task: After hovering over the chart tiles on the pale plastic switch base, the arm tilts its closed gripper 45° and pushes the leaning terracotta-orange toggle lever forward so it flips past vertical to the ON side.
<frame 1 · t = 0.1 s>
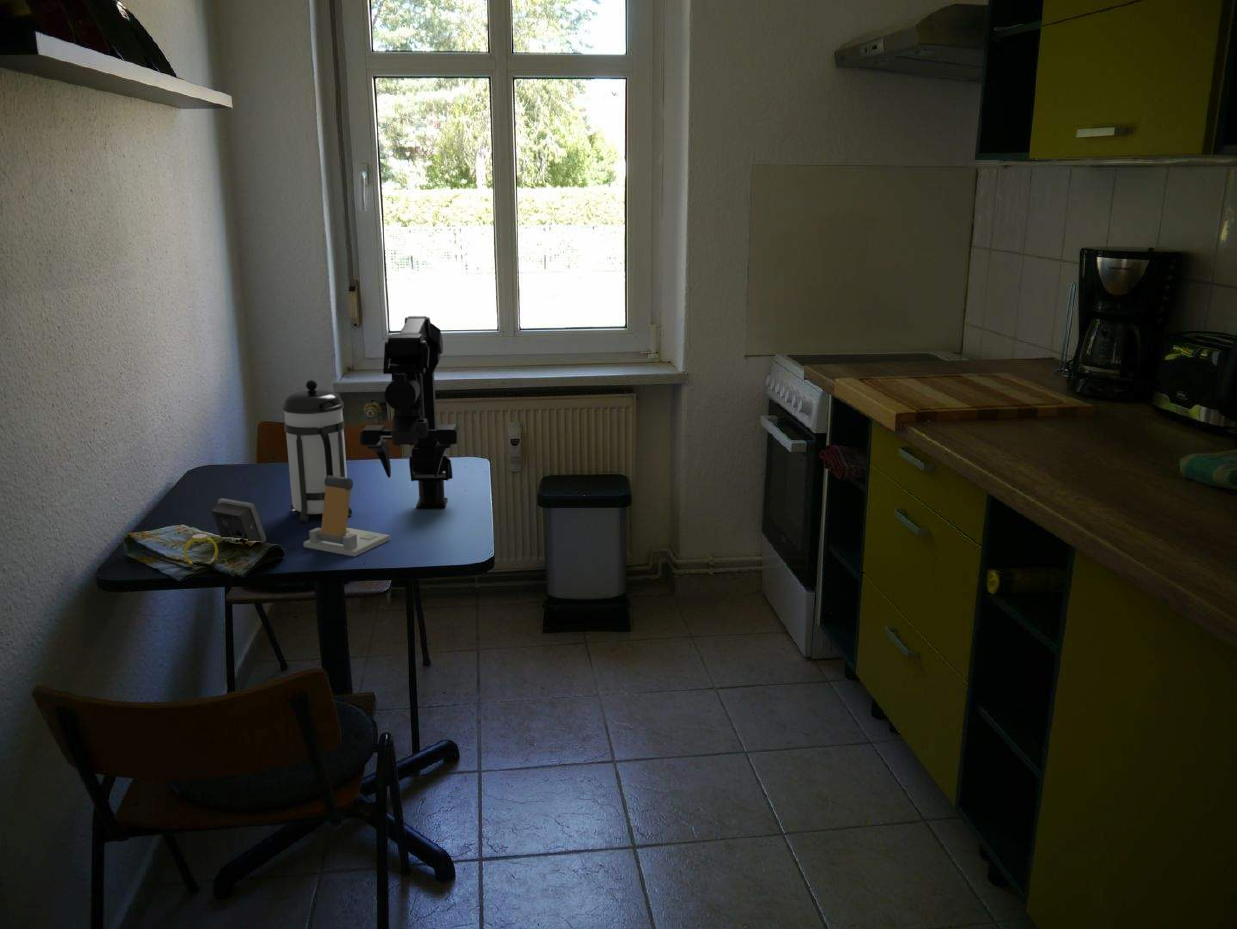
hand: (412, 476, 205), 15 cm above the table, tool pointing down, fingers open, 9 cm apart
lever: (335, 509, 206), point 8 cm above the table, hinge at -15.0°
electrical switch: (241, 544, 210), on the table
watch: (202, 565, 198), on the table
coffee press: (324, 515, 228), on the table
switch base: (347, 543, 210), on the table
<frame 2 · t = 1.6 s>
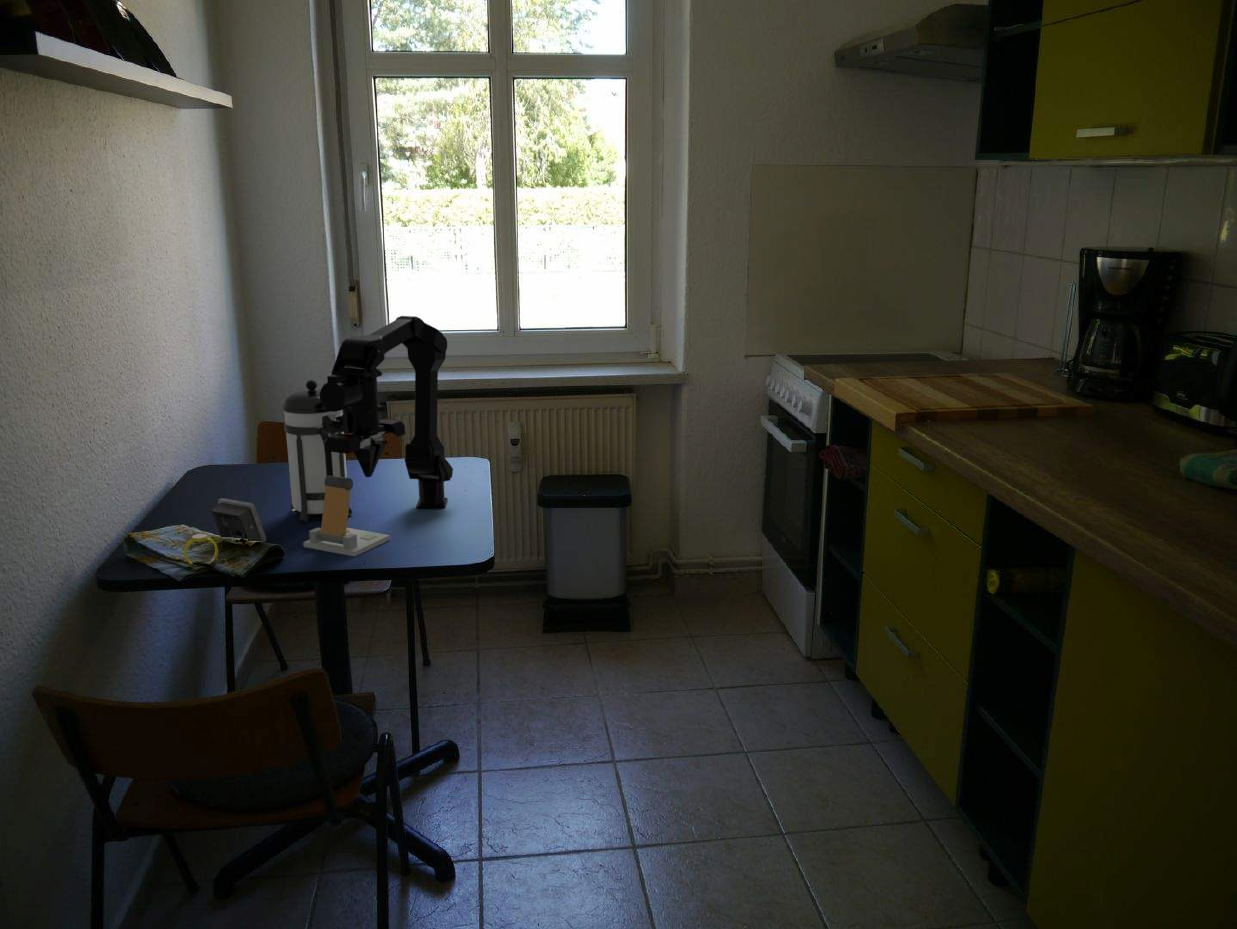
hand: (368, 476, 210), 13 cm above the table, tool pointing down, fingers closed
nothing on the table moved.
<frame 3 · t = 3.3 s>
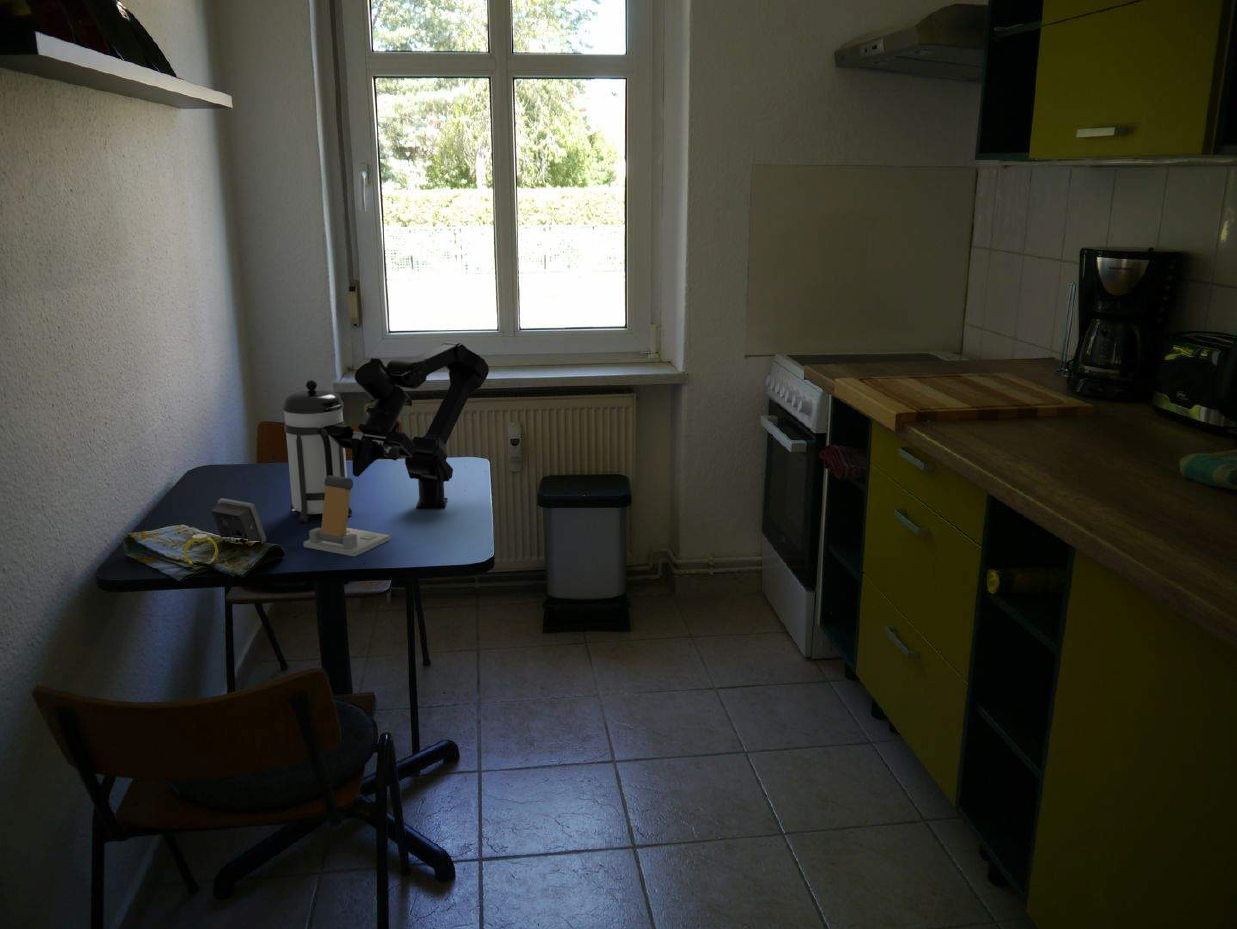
hand: (355, 475, 210), 13 cm above the table, tool tilted 45°, fingers closed
nothing on the table moved.
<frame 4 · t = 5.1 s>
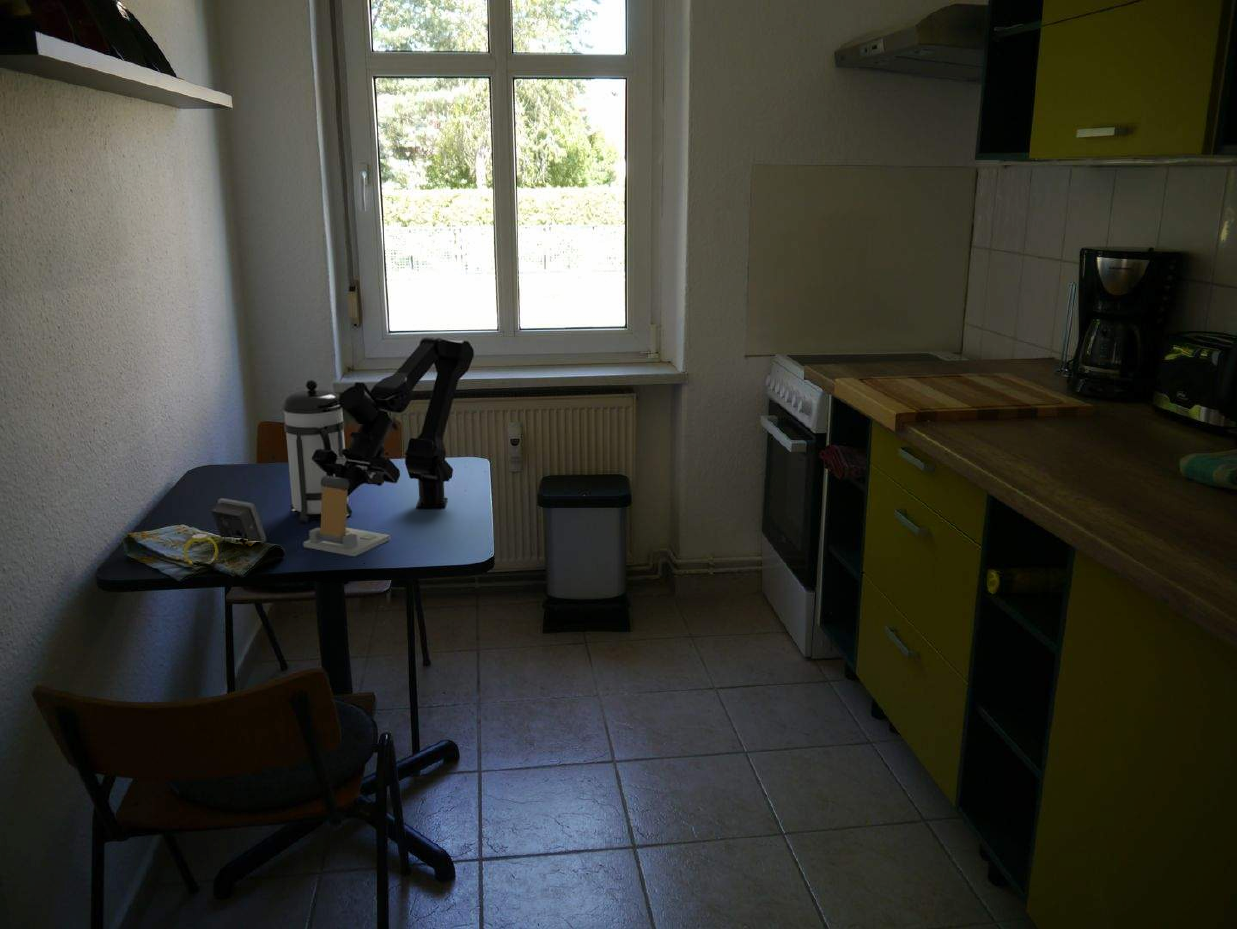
hand: (338, 501, 206), 9 cm above the table, tool tilted 45°, fingers closed, pressing on lever
lever: (334, 509, 205), point 8 cm above the table, hinge at -9.2°, touching gripper
everything else where it was.
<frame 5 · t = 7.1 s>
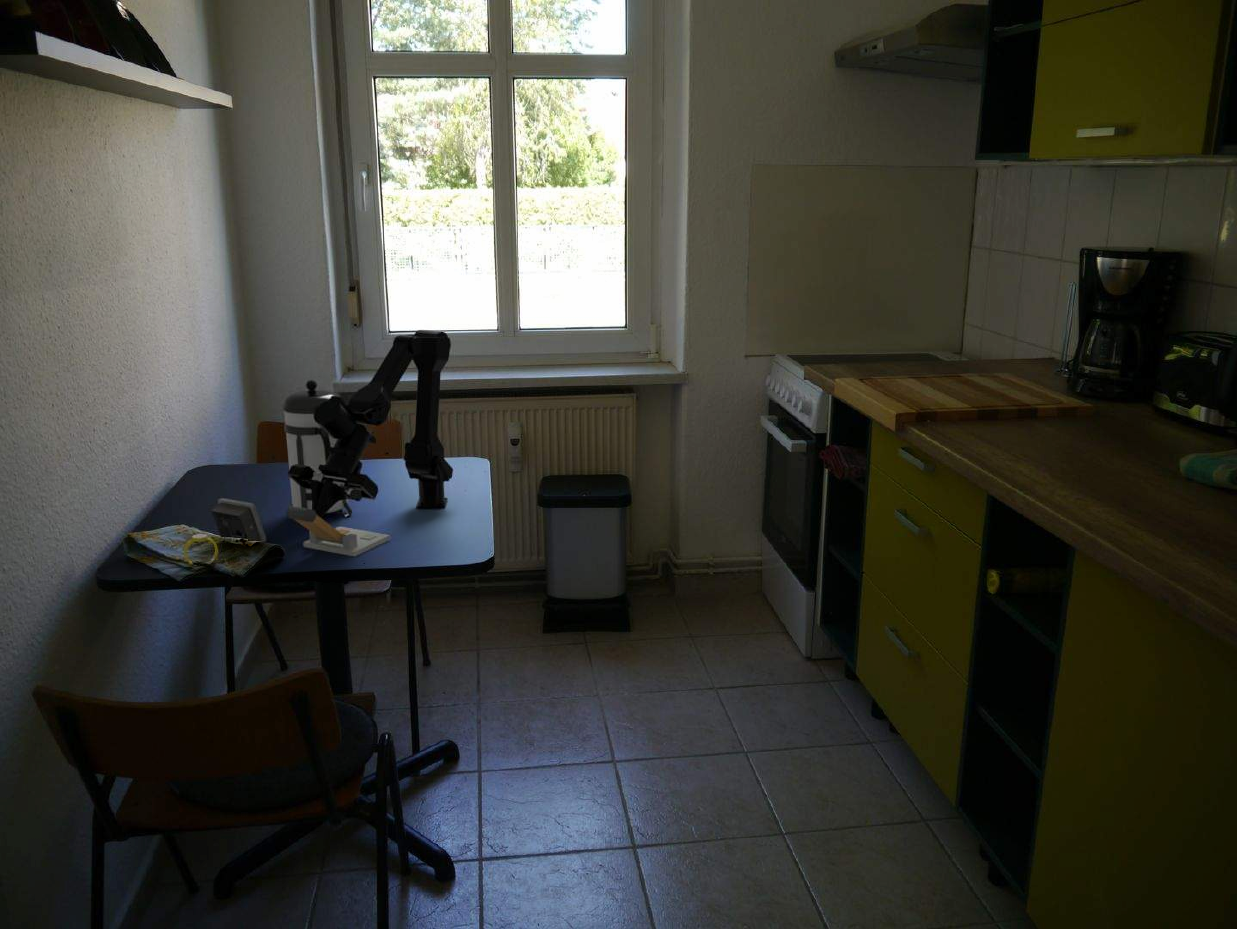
hand: (314, 519, 200), 8 cm above the table, tool tilted 45°, fingers closed, pressing on lever
lever: (317, 525, 201), point 6 cm above the table, hinge at 48.4°, touching gripper
everything else where it was.
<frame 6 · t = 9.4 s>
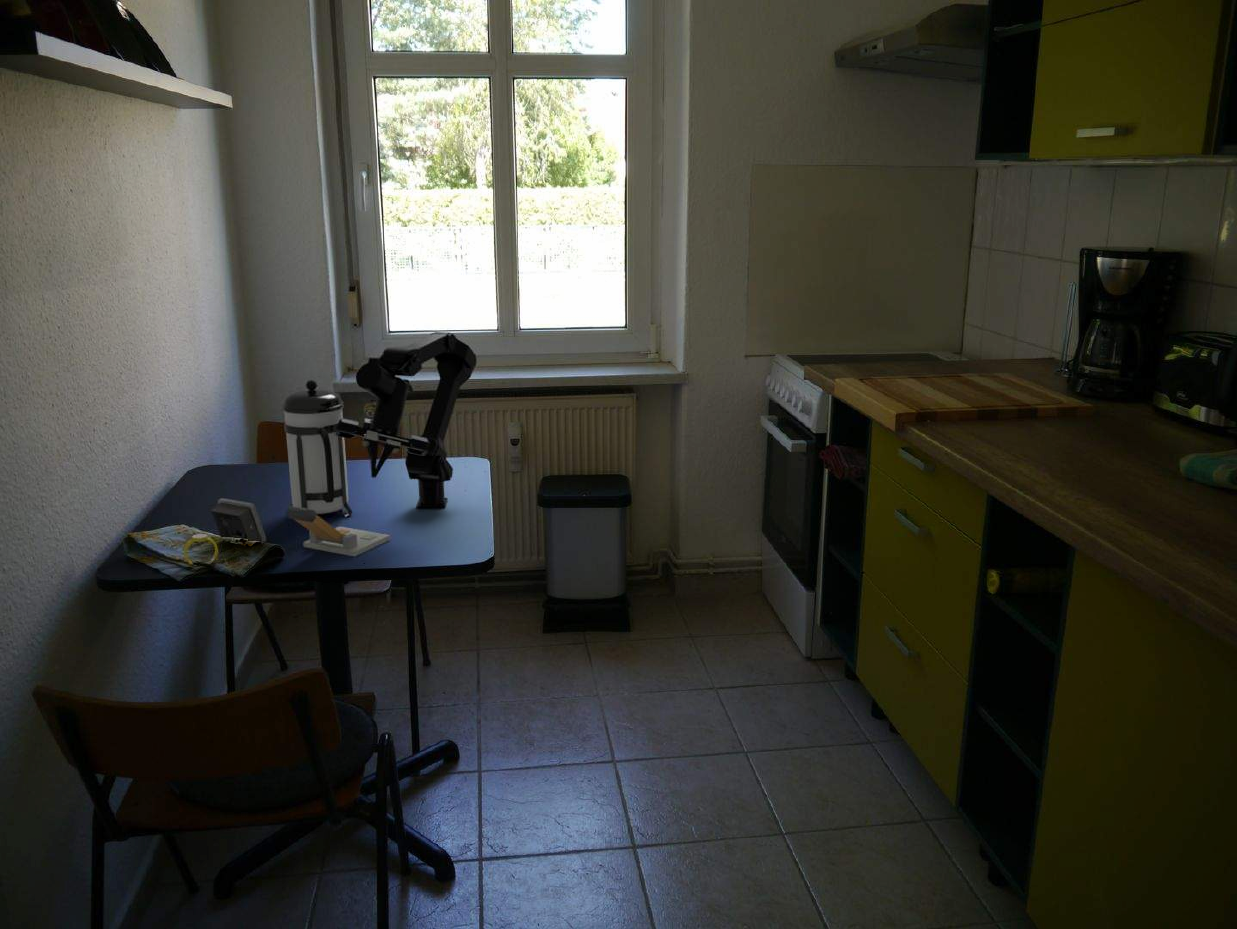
hand: (373, 477, 211), 13 cm above the table, tool tilted 30°, fingers closed
lever: (317, 525, 201), point 6 cm above the table, hinge at 48.4°
everything else where it was.
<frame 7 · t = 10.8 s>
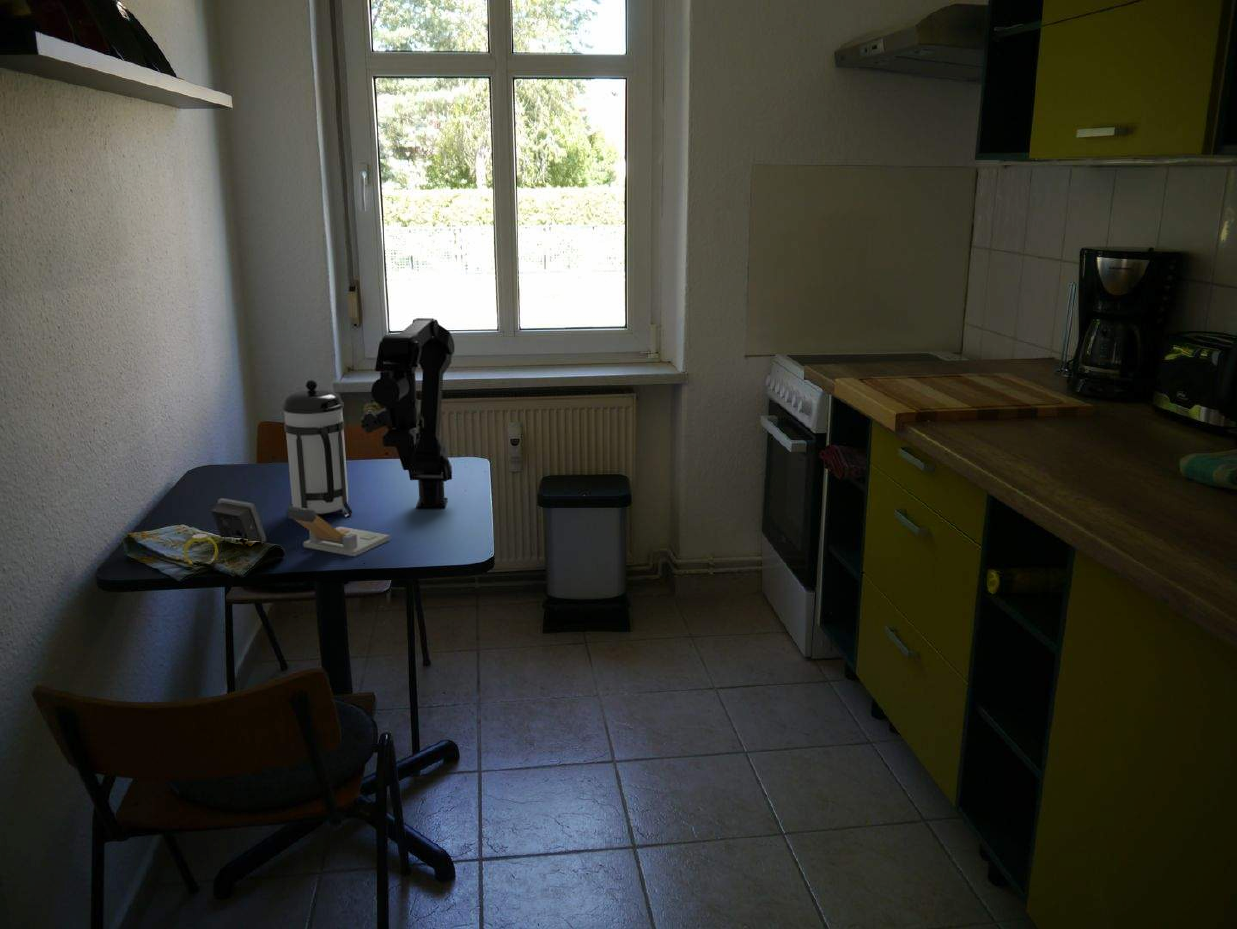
hand: (406, 469, 216), 13 cm above the table, tool pointing down, fingers closed
nothing on the table moved.
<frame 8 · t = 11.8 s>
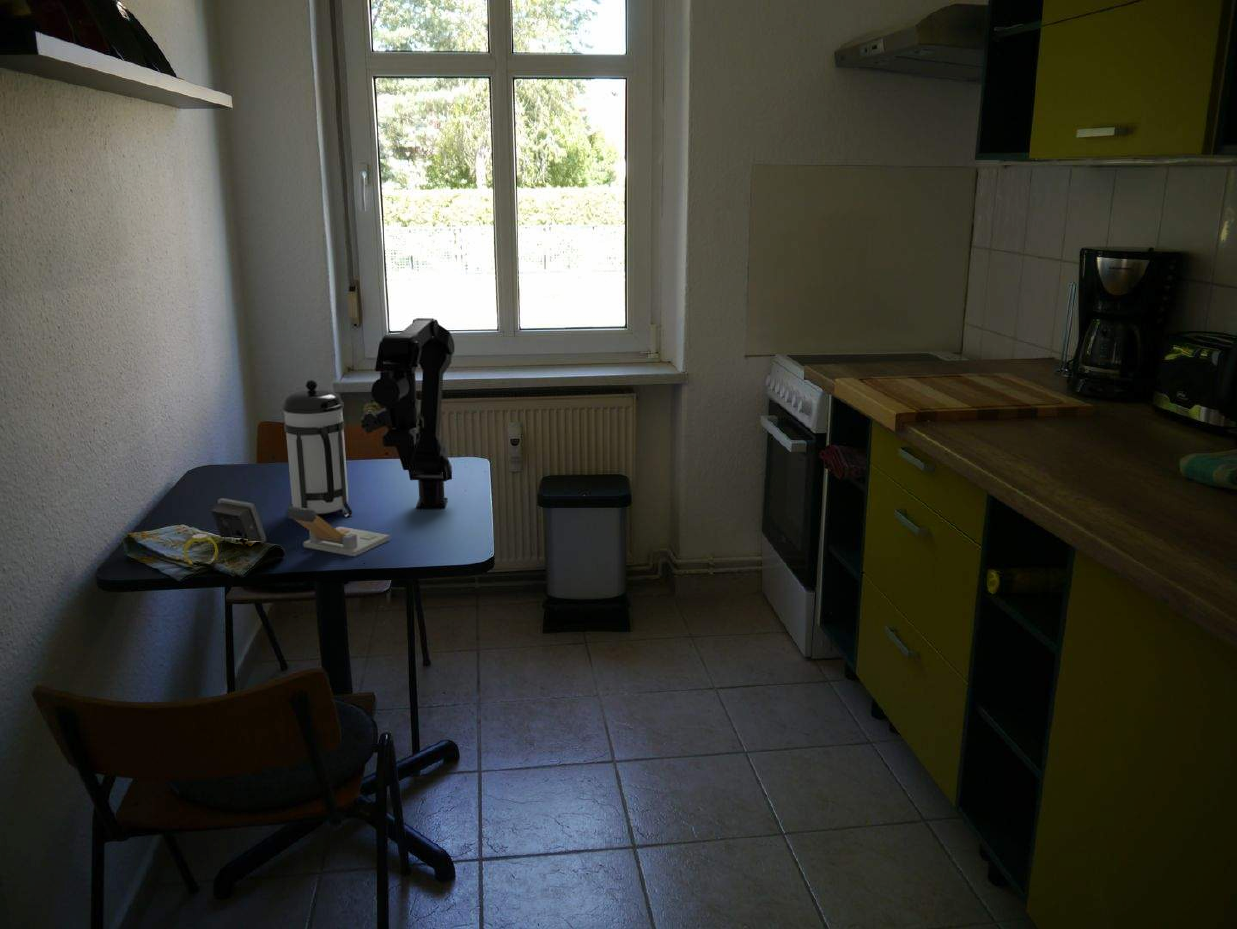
hand: (406, 469, 216), 13 cm above the table, tool pointing down, fingers closed
nothing on the table moved.
at the end: lever at +48° (first picture: -15°) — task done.
